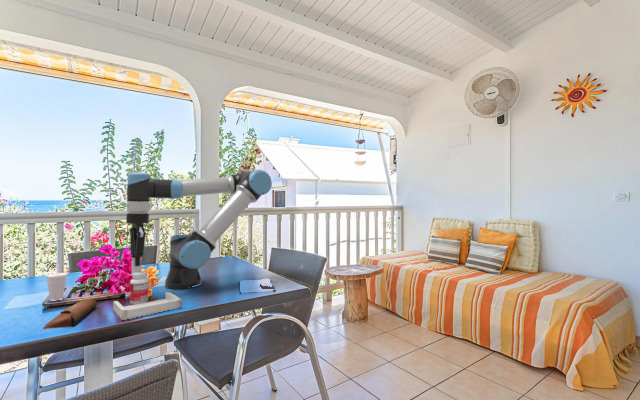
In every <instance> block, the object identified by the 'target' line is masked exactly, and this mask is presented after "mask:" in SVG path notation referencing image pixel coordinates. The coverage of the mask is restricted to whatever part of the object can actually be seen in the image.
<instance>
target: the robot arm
mask: <svg viewBox="0 0 640 400" xmlns="http://www.w3.org/2000/svg"><path fill="white" fill-rule="evenodd" d="M272 182H273V181H272V177H271V176H270V175H269V173H268V172H267V171H265V170H263V169H254V170H250V171H244V172H241V173H236V174H235V173H234V174H229V175H227V176H225V177H209V178H206V177H205V178H191V179H189V178H188V179H159V178H158V179H157V178H151V174H150V173H146V172H130V173H128V175H127V182H126V183H127V184H126V188H127V189H126V204H125V208H126V212H127V214H126V215H125V217H126V218H125V219H126V221H125V222H126V224H131V227H130V230H129V238H130V239H129V241H130V242H129V243H130V245H129V246H130V255H131V276H132V275H133V273H135V272H142V257H143V256H144V251H145V240H146V235H147V233H146V231H145V228H144V224H148V223H150V214H149V212H150V198H151V199H159V200H161V199H172V200H174V199H181V198H183V197H190V196H202V195H203V196H204V195H215V194H226V193H227V194H229V195H231V196H229V198H228V199H227V200H226V201H225V202H224V203H223V205H221V206H220V207H219V209H218V210H217V211H216V212H215V213H214V214H213V215H212V216H211V217H210V219H208V220H207V221H206V223H205V224H204V225H202V227H201V228H200V229H196V230H193V231H192V233H190V234H186V233H185V234H173V235H171V236H170V242H169V245H170V249H169V270H168V273H167V276H166V278H165V283H164V287H165V288H166V287H167V289H169V288H173V289H172V290H180V289H179V288H187V289H189V288H188V287H192V286H195V285H198V284H200V283H201V284H202V278H201V274H200V271H199V268H202V267H203V266H205V265H207V264H208V262H209V261H210V259H211V254H212V253H213V251H215V249H216V247H217V246H216V242H218V240H219V239H220V238H221V237H222V236H224V235H223V234H225V233H226V231H227V230H228V229H229V228H230V227H231V226H232V224H233V223H234V222H235V221H236V220H238V217H239V216H240V215H241V214H242V213H244V211H245V209H247V208H248V206H249V205H250V204H251V203H253V204H254V203H256V202H257V201H258V200H259V199H260V198H261V196H263V195H266V194H268V193H269V192H270V190H271V189H272V184H273V183H272Z"/></svg>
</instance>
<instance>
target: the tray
mask: <svg viewBox="0 0 640 400" xmlns="http://www.w3.org/2000/svg"><path fill="white" fill-rule="evenodd" d="M164 297H165V298H163V299H157V300H153V301H147V302H146V303H141V304H136V305H133V304H130V305H127V306H125V305H124V306H123V305H122V304H121V303H120V302H119V301H117V300H115V301H114V300H113V302H112V306H113V307H112V311H113V313H114V314H116V315H117V316H118V318H119V319H121V321H122V320H125V321H128V320H127V319H129V320H134V319H137V318H136V317H139V318H142V317H141V316H143V317H147V316H146V315H148V316H152V315H155V314H154V313H157V314H159V313H158V312H162V313H164V312H163V311H166V312H168V311H167V310H171V311H173V310H172V309H175V310H177V309H176V308H180V309H182V308H183V306H182V305H183V304H182V303H183V299H182V298H181V297H178V296H177V295H175V294H173V293H171V292H170V291H165V295H164ZM181 307H182V308H181ZM151 314H152V315H151ZM133 318H134V319H133Z"/></svg>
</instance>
